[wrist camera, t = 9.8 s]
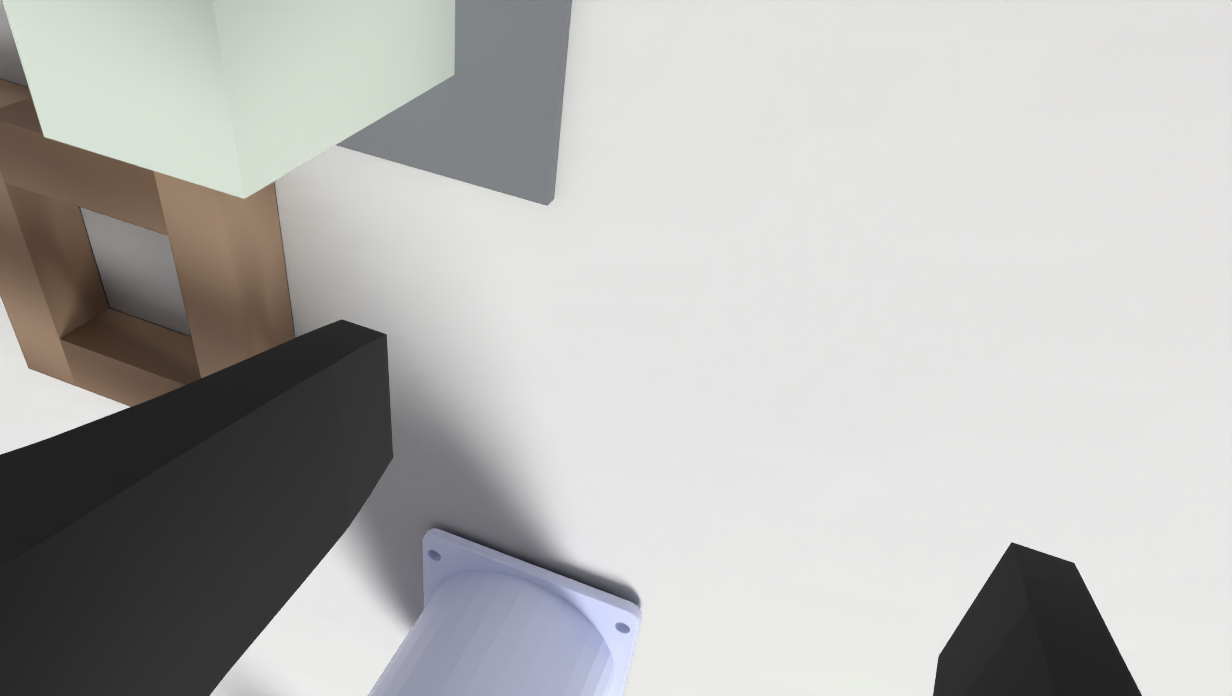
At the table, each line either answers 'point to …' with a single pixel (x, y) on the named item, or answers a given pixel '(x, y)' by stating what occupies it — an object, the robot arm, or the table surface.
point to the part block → (225, 77)
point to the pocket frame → (70, 283)
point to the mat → (488, 102)
